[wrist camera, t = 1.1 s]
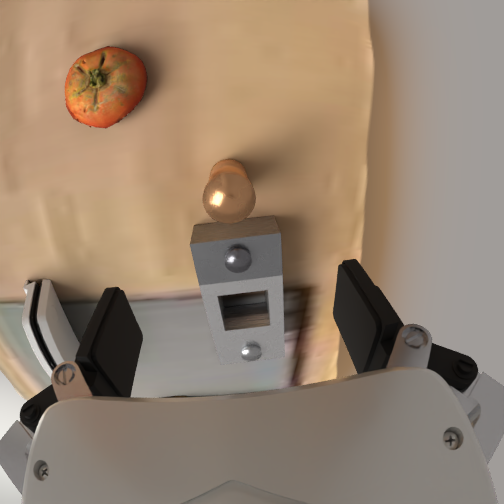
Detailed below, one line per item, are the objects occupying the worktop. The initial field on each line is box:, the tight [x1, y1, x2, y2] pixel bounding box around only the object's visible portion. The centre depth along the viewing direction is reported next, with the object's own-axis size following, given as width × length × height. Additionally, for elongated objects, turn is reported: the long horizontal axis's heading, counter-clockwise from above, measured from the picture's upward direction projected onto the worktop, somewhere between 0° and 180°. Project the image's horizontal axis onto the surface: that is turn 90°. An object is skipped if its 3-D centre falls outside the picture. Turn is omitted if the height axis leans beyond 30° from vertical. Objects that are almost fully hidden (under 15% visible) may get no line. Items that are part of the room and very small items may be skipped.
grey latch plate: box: [190, 216, 285, 365], centre depth 30 cm, size 17×8×5 cm, turn 5°
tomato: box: [65, 46, 147, 128], centre depth 19 cm, size 8×7×7 cm
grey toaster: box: [22, 279, 80, 378], centre depth 30 cm, size 17×5×10 cm, turn 179°
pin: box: [203, 159, 256, 224], centre depth 23 cm, size 4×4×7 cm
